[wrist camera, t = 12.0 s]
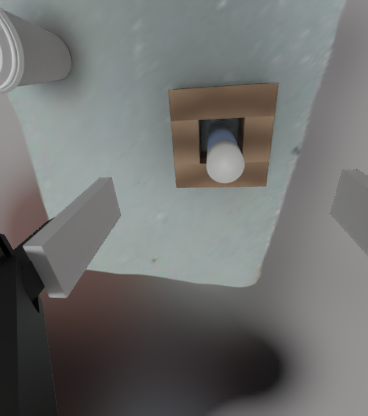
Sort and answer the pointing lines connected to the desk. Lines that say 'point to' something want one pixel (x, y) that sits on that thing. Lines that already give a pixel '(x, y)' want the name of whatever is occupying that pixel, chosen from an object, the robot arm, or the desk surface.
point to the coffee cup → (29, 54)
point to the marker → (223, 154)
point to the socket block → (220, 109)
